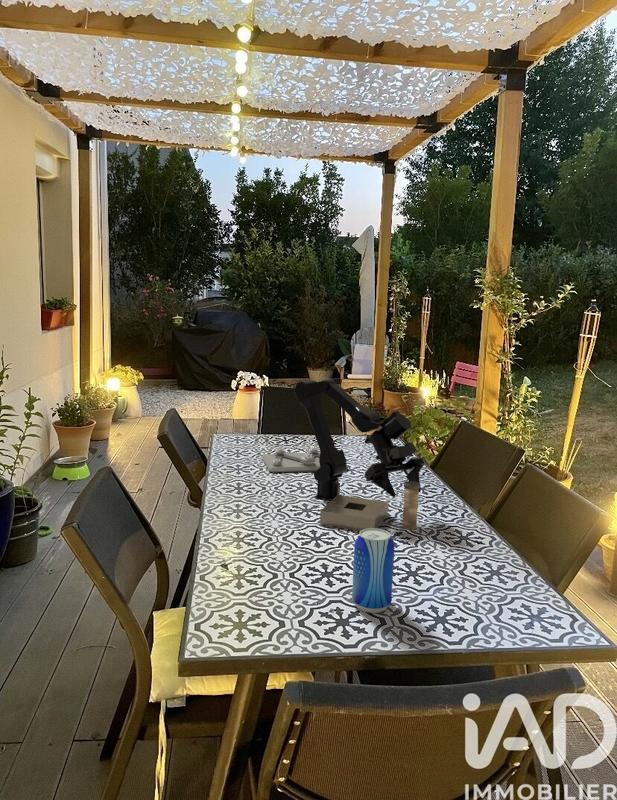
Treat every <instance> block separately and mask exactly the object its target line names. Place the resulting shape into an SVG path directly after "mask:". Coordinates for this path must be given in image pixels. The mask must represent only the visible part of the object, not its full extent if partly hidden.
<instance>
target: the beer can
mask: <svg viewBox="0 0 617 800" xmlns="http://www.w3.org/2000/svg"><path fill="white" fill-rule="evenodd" d="M394 564H395V543H394V541H393V540H392V534H391V533H390V532H389V531H387V530H385V529H382V528H378V529H377V528H368V529H363V530H361V531H359V534H358V536H357V538H355V541H354V546H353V564H352V566H353V568H352V590H351V600H352V602H353V603H354V605H355V607H356V608H357V609H358V610H360V611H362V612H365V613H370V614H377V613H382V612H385V611H386V610H387V609H388V607H389V606H390V605H391V604H392V598H393V597H392V596H393V578H394Z"/></svg>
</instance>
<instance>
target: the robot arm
mask: <svg viewBox="0 0 617 800" xmlns="http://www.w3.org/2000/svg"><path fill="white" fill-rule="evenodd" d="M293 391H294V395H295V397H296V399H297V400H298V403H299V404H300V405H301V406H302V407H303V408H304V409H305V411H306V413H307V416H308V419H309V422H310V425H311V428H312V430H313V434H314V436H315V439H316V443H317V446H318V450H319V451H320V452H319V453H320V458H319V463H320V468H319V469H318V470H317V471H316V472H313V478H314V480H315V481H317V483H316V485H317V487H316V490H317V491H316V495H315V496H314V498H316V499H319V500H326V501H332V500H333V499H334V498H335V497H336V496H337V495H341V493H340V491H341V483H340V482H339V481H340V478H342V476H343V474H344V473H345V472H346V471H347V470H346V468H347V467H348V464H347V462H348V459H347V458H346V455H345V452H344V450H343V449H338V448H337V447H336V445H335V443H334V440H333V437H332V434H331V432H330V428H329V427H328V426H329V425H328V422H327V420H326V417H325V414H324V411H323V408H322V404H321V403H322V393H324V394H325V395H326V396H327V397H329V398H330V399H331V400H332V401H333V402H334V403H335V404H336V405H337V406H338V407H340V408H341V409H342V410H343V411H344V412H345V413H346V414H348V416H349V418H350V419H351V421H352V423H353V425H354V426H355V428H356V429H357V430H358V431H359V432H360V433H363V434H364V433H369V432H372V433H371V434H366V437H365V439H364V444H369V445H371V444H372V447H373V448H374V451H375V453H376V454H377V455H376V456H375V460H376V461H380V462H376V463H371V465H370V466H369V467H368V468H367V469H366V470H365V471H364V477H365V479H366V481H367V482H371V484H375V485H376V486H378V487H379V488H381V489H382V490H383V491H385V492H386V493H388V495H389V496H391V497H393V498H395V497H396V494H397V493H396V491H395V489H394V486H393V485H392V483H391V480H390V477H389V473H395V472H401V471H403V472H404V473H403V474H406V475H405V477H406V479H407V481H415V482H418V483H420V484H421V482H420V473H421V470H422V469H423V467H424V466H425V465H426V463H425V461H424V459H423V458H422V457H421V456H420V457H419V456H418V457H413V456H414V455H413V454H415V453H416V452H417V449H416V446H415V444H414V442H412V441H410V442H407V443H404V445H401V446H399V445H397V444H396V445H395V444H394V441H393V440H397V441H398V440H399V439H400V438H401V437H402V436H403V435H405V434H406V433H407V432H408V431H410V429H411V428H412V424H411V421H410V420H409V418H408V417H406V416H405V415H403V414H401V413H400V411H398V410H395V411H393V412H392V413H390V415H389V416H388V417H383V416H381V415H380V414H379V413H378V412H377V411H375V410H373V409H372V408H370V407H368V406H364V405H362V404H360V402H358V401H357V400H356V399H355V398H354V397H353V396H351V395H350V394H349V393H348V392H346V390H345V389H344V388H342V387H341V386H340V385H338V384H337V382H336V381H335V380H334V379H332V378H328V379H323V380H321V381H316V380H314V379H310V380H304V381H303V380H302V381H298V382H297V383H296V384H295V387H294V389H293ZM378 429H379V430H378ZM408 457H410V458H409V459H408V460H407V458H408ZM406 460H407V461H406ZM405 461H406V462H405ZM403 462H405V463H403ZM345 470H346V471H345ZM421 491H422V490H421V487H420V488H419V493H421Z"/></svg>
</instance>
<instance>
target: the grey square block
mask: <svg viewBox="0 0 617 800" xmlns="http://www.w3.org/2000/svg"><path fill="white" fill-rule="evenodd" d="M388 515H389V502H388V501H383V500H375V499H370V498H362V497H356V496H350V495H349V496H348V495H341V494H340V495H337V496H336V497H335V498H334V499H333V500H330V502H329V503H327V504H326V505H325V506H324V507H323V508H322V509H321V510H320V514H319V517H320V518H319V524H320V525H323V526H329V527H335V528H342V529H348V530H353V531H358V532H360V531H361V530H363V529H368V528H377V529H379V528H380V526H381V525H382V524H383V522H384V521H385V519H386V518H387V516H388Z"/></svg>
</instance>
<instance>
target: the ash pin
mask: <svg viewBox="0 0 617 800" xmlns="http://www.w3.org/2000/svg"><path fill="white" fill-rule="evenodd" d="M403 488H404V490H403V494H404V495H403V505H402V506H403V510H402V523H401V524H402V525H401V527H402V528H403V529H405V530H412V531H413V530H416V529H417V521H418V508H419V507H418V506H419V495H420V492H419V488H420V489H421V482H420V483H418V482H415V481H409V480H406V481H404V482H403Z"/></svg>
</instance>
